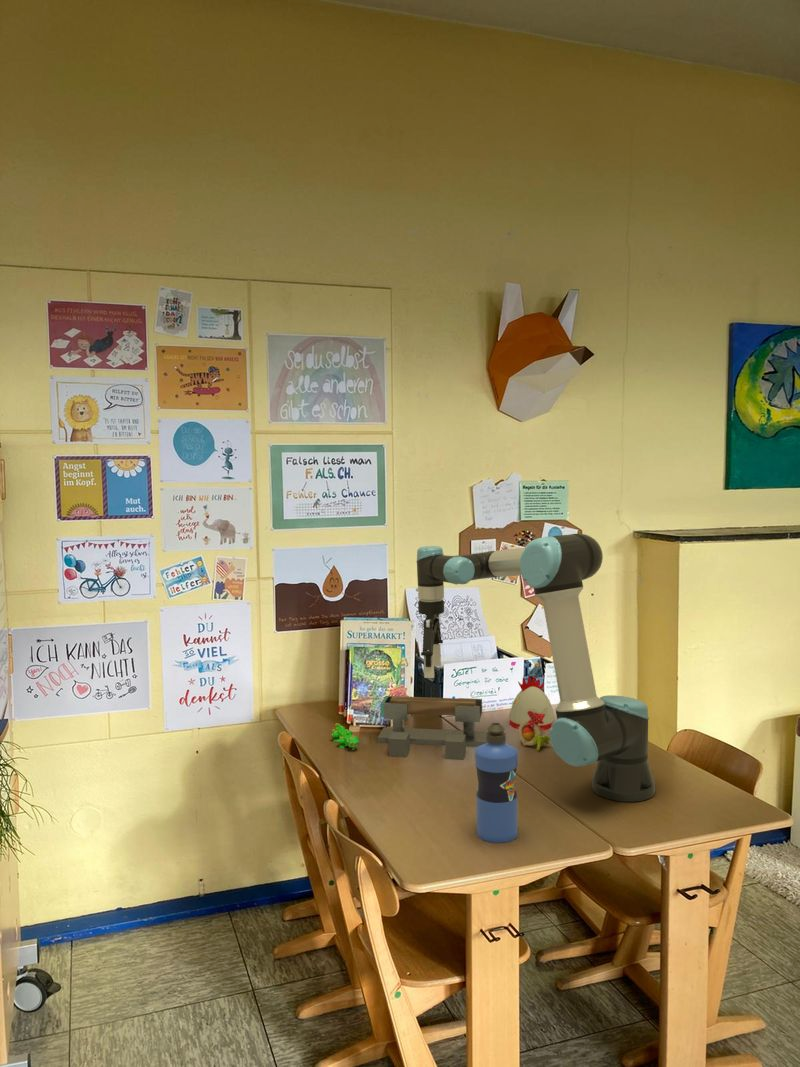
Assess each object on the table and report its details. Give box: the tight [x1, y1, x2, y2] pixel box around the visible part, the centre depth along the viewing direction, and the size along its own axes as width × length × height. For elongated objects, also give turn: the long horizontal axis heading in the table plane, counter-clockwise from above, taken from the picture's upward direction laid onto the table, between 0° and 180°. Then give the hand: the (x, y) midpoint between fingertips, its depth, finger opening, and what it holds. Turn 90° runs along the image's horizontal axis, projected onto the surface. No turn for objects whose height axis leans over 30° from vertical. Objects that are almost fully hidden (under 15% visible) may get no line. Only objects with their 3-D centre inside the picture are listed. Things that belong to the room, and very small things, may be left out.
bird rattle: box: [518, 711, 550, 752], centre depth 237 cm, size 6×11×9 cm
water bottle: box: [474, 722, 519, 844], centre depth 183 cm, size 9×9×25 cm
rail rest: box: [387, 732, 467, 761], centre depth 234 cm, size 6×21×5 cm, turn 79°
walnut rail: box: [390, 695, 477, 717], centre depth 245 cm, size 4×25×4 cm, turn 79°
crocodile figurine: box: [331, 722, 360, 751], centre depth 245 cm, size 7×18×4 cm, turn 22°
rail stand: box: [376, 695, 489, 748], centre depth 245 cm, size 9×32×12 cm, turn 79°
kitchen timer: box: [508, 675, 556, 732], centre depth 257 cm, size 14×14×15 cm
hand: (432, 671), depth 244 cm, fingers open, 13 cm apart
